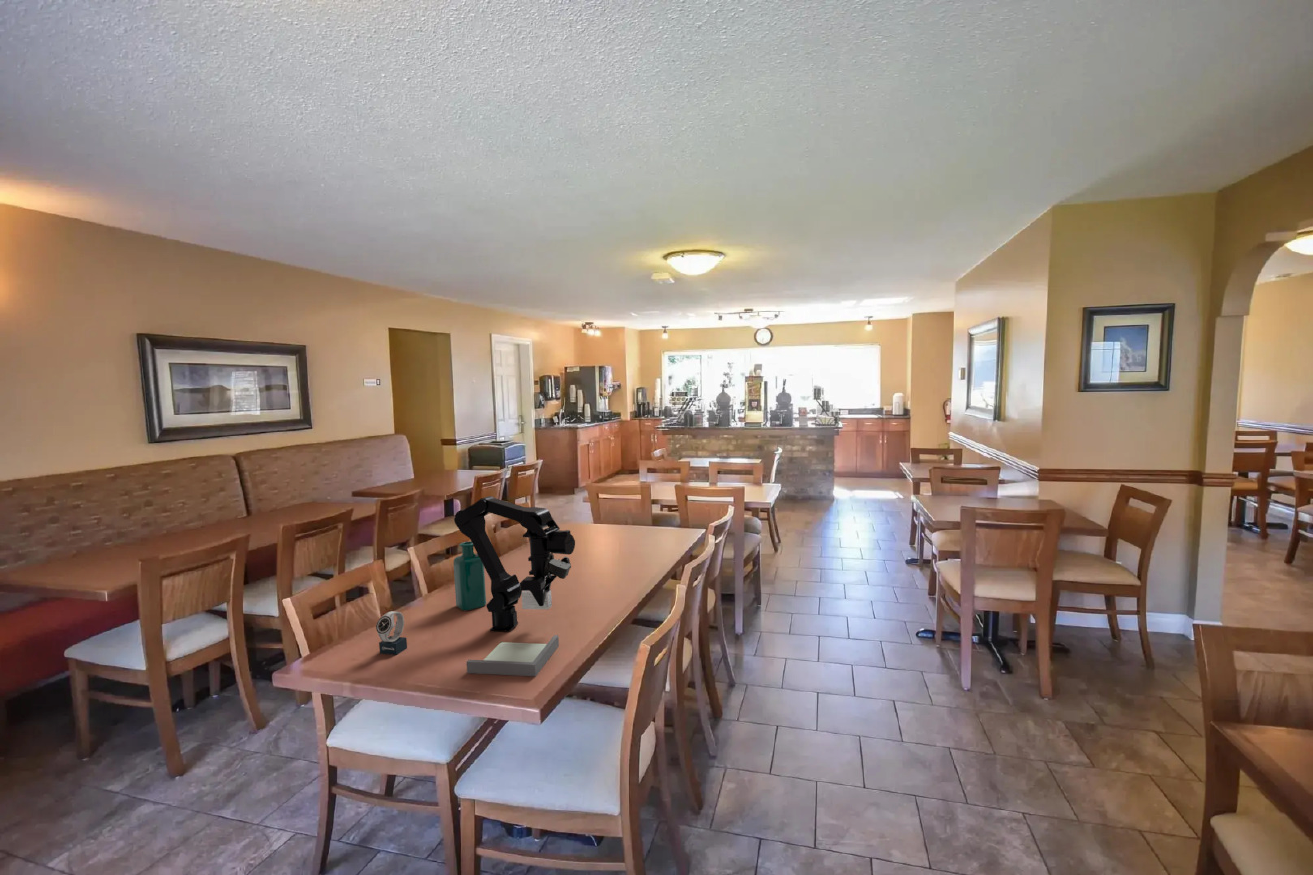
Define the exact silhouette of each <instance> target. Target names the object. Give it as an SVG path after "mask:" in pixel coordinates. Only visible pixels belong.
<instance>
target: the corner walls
mask: <svg viewBox="0 0 1313 875" xmlns="http://www.w3.org/2000/svg"><path fill="white" fill-rule="evenodd" d="M559 641H560V640H559V635H558V634H554V635H553V636H552V637H551V638H550V639H549V641H548V642H547V643H546V644H547V645H546V646H545V647H544V649H543V650H542V651H541V652H540V654H539V655H538V656H537V657H536V659H535V660H534V661H533V662H513V661H490V660H484V659H468V660H466V661H465V662H466V673H467V674H478V675H497V676H498V675H500V676H501V675H503V676H504V675H505V676H518V677H519V676H521V677H537V676H538V674H539V672H541V670H543V667H544V666H545V665H546V664H547V662H548V661H549V660H550V658H551V657H552V655H553V654H554V653H555V651H556V650H557V649H558V648H559V645H560V642H559Z"/></svg>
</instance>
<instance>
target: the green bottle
mask: <svg viewBox="0 0 1313 875" xmlns="http://www.w3.org/2000/svg"><path fill="white" fill-rule="evenodd" d="M458 546H459V547H460V548H461V550H462V552H461V555H458V556H456V557H454V559H453V573H454V574H453V576H454V577H453V579H454V588H455V589H454V590H455V592H454V593H455V606H456V607H457V608H459V609H460V610H461V611H465V612H468V611H471V610H475V609H480V608H483V607H485V606H486V605H487V595H486V593H487V592H486V591H487V590H486V576H485V567H484V565H483V563H482V561H481V559H480V557H479V555H478V553H477V552H476V553H475V551H474V546H473V544H472V542H471V540H470V541H468V540H467V541H464V542H461V543H459V544H458Z"/></svg>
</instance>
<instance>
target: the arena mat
mask: <svg viewBox="0 0 1313 875" xmlns="http://www.w3.org/2000/svg"><path fill="white" fill-rule="evenodd" d="M547 644H548V643H533V642H532V643H528V642H503V641H502V642H500V643H499V644H498V645H497V646H495V648H494V649H493V650H492V651H491V652H490V653H489V654H488V655H487V656H486V657H485V658H483V660H490V661H513V662H533V661H534V660H535V659H536V657H537V656H538V655H539V654H540V652H541V651H542V650H543V649H544V647H545V646H546V645H547Z"/></svg>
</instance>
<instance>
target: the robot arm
mask: <svg viewBox="0 0 1313 875" xmlns="http://www.w3.org/2000/svg"><path fill="white" fill-rule="evenodd" d="M488 514H493V515H496V516H499V517H503V518H506V519H509V520H512V521H515V522H517V523H518V524H519V525H520V526H522V528H524V529H527V530H526V531H525V533H523V535H522V537H523V538H528V539H529V551H530V552H529V553H530V556H528V557H527V559H528V562H530V568H531V569H530V570H529V571H528V575H529V576H528V575H527V576H526V577H525V578H523V579H522V580H521V582H520V581H519V579H518V576H517V575H516V574H514V573H513V574H512V575H511V574H509V573H508V572H507V571H506V569H505V566H504V564H503V563H502V561H501V559H500V557H499V555H498V553H497V552H496V549H495V547H494V545H493V543H492V541H491V540H490V537H489V535H488V534H487V531H486V523H487V522H486V519H485V517H486V516H487V515H488ZM453 520H454V524H455V526H456V527H457V529H458V530H459V531H460V533H461V534H462V535H464V536H465V537H467V538H468V539H469V540H470V541H471V542H472V544H473V546H474V547H473V549H474V550H475V551H476V554H477V553H478V555H479V557H480V559H481V561H482V563H483V565H484V570H485V571H486V573H487V575H488V577H489V579H490V581H491V582H490V592H491V596H492V598H491V599H490V600H489V601H488V603H486V605H485V606H486V609H487V611H488V612H489V613H491V622H492V626H491V627H490V628H489V630H490V632H511V631H512V630H513V629H514V628H515V627H517V625H518V624H519V621H518V612H517V610H516V606H515V605H517V604H518V603H519V600H520V598H521V597H522V594H521V592H522V591H530V592H531V593H532V595H533V596H534V598H535V600H536V601H537V603H538V605H539V606H543V603H544V592H545V589H551V586H552V585H551V584H552V582H554V580H555V579H556V578H557V577H558V578H559V579H562V580H564V579H566V577H567V576H569V572H570V570H571V569H572V564H571V561H570V557H568V556H564V557H562V559H561V560H560V558H558V559H557V558H555V555H554V554H556V555H557V554H559V555H572V554H573V553H574V551H575V547H576V539H575V538H574V536H573V535H572V534H571V530H569V529H565V530H560V528H561V527H559V525H558V524H557V523H556V521H555V520H554V518H553V516H552V514H551V512H550V510H549V509H547V508H545V507H538V506H537V507H535V506H534V507H533V506H531V507H527V506H523V505H518V504H515V503H512V502H508V501H506V500H502V499H499V498H496V497H494V496H492V495H488V496H485V497H482V498H480V499H478V500H477V501H476V502H475V503H473V504H472V505H469V506H468V507H465V508H464V509H460V510H458V511H457V512H455V515H454V519H453ZM546 527H547V528H546Z"/></svg>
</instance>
